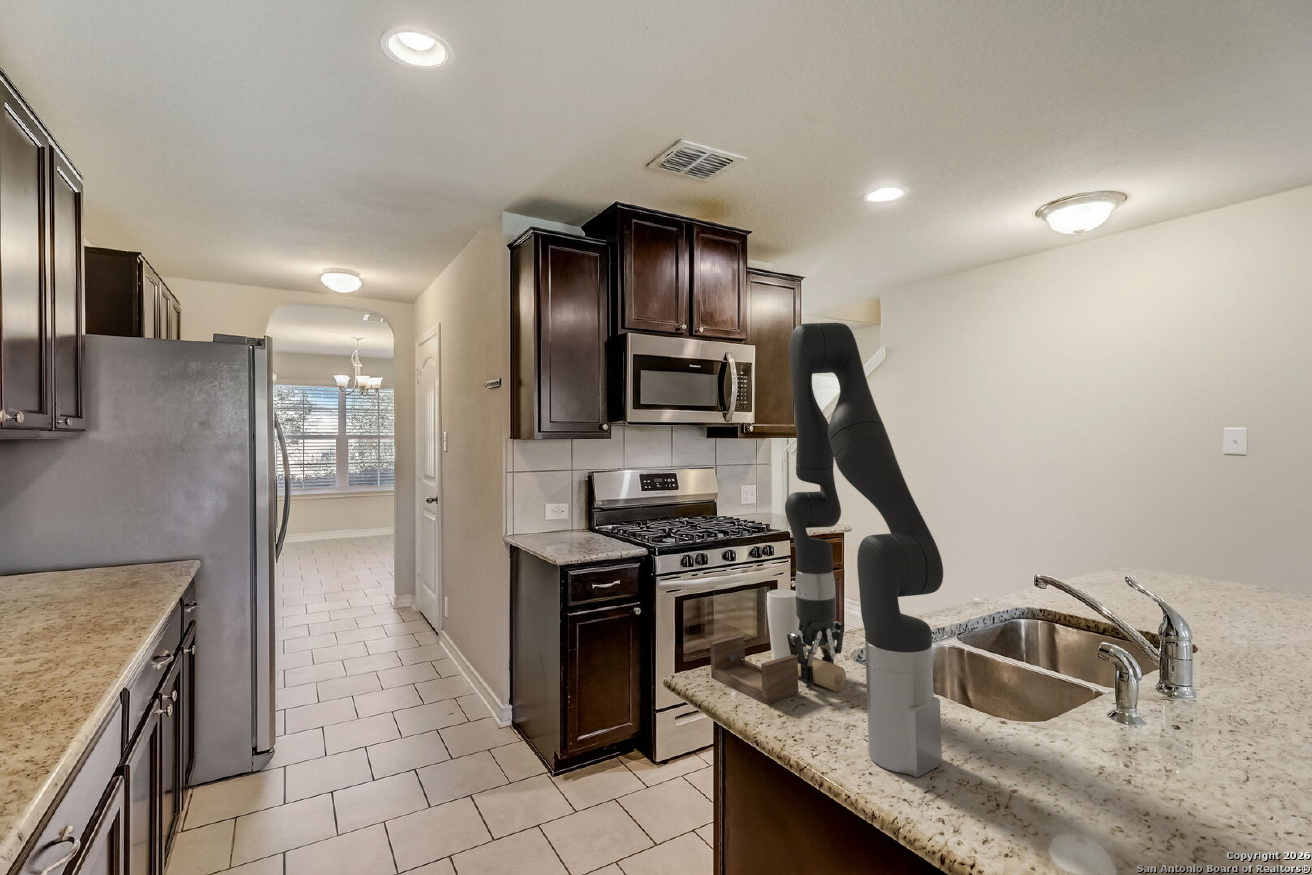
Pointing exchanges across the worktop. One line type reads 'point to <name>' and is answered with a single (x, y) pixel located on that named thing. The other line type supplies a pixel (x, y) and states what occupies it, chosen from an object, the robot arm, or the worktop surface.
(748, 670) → the holder
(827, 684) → the roll
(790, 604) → the drinking glass
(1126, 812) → the worktop surface
